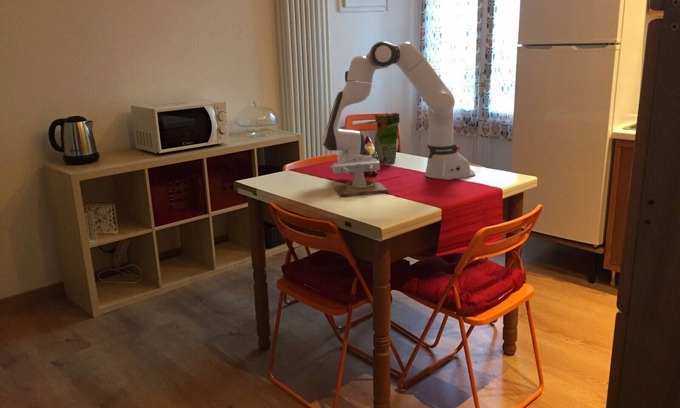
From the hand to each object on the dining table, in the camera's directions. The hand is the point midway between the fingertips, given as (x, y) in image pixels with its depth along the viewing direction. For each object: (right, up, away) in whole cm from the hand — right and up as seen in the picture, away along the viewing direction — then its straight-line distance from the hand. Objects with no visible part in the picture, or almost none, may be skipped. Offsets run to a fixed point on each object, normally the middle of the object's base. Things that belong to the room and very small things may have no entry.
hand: (360, 170), depth 241 cm
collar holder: (0, -8, +3) cm, 9 cm away
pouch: (+16, +7, +54) cm, 57 cm away
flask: (0, -7, +3) cm, 8 cm away
